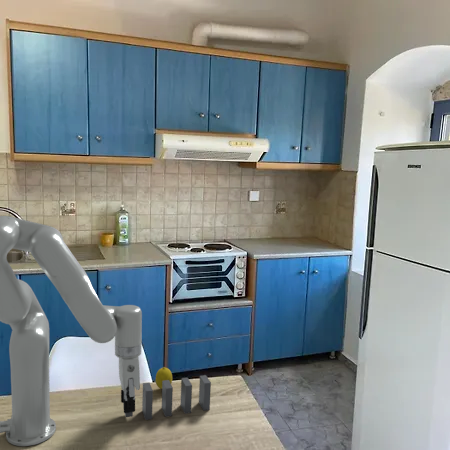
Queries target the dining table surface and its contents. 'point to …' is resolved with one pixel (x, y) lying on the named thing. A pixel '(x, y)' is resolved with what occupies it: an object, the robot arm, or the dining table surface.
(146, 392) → the domino
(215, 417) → the dining table surface
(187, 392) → the domino
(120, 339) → the robot arm
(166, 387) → the domino
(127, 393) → the domino
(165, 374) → the lemon
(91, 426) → the dining table surface
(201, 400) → the domino
